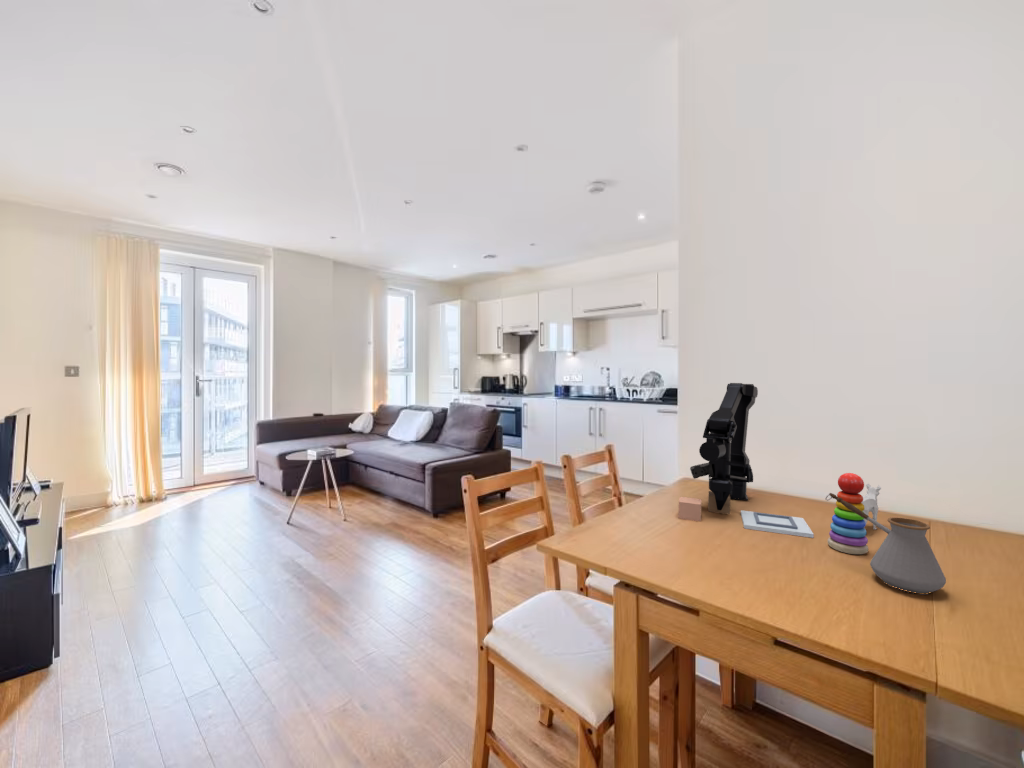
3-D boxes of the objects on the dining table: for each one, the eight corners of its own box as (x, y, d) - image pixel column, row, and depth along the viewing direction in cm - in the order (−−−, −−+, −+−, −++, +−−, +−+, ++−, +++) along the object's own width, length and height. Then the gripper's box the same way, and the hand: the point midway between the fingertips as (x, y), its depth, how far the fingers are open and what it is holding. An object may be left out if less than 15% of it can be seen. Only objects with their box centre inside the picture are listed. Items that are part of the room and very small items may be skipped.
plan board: (740, 513, 134) (740, 508, 133) (802, 521, 127) (803, 515, 127) (744, 528, 121) (744, 522, 121) (813, 537, 114) (813, 531, 114)
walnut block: (708, 506, 141) (708, 490, 141) (729, 509, 138) (729, 493, 138) (708, 511, 135) (708, 495, 135) (730, 514, 133) (730, 498, 133)
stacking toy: (820, 545, 109) (822, 470, 109) (839, 540, 112) (841, 468, 112) (856, 558, 102) (859, 478, 101) (875, 552, 105) (878, 474, 105)
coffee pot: (958, 593, 86) (961, 517, 86) (926, 604, 82) (929, 524, 81) (840, 551, 106) (842, 489, 105) (809, 559, 101) (811, 494, 101)
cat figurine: (884, 526, 124) (886, 476, 123) (855, 541, 113) (857, 486, 112) (864, 521, 127) (866, 473, 127) (835, 535, 116) (837, 482, 116)
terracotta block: (679, 512, 134) (680, 496, 134) (701, 515, 132) (701, 499, 131) (678, 518, 129) (678, 501, 128) (700, 521, 126) (701, 504, 126)
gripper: (693, 449, 148) (691, 495, 149) (691, 459, 131) (690, 511, 132) (729, 452, 144) (728, 499, 144) (732, 463, 127) (731, 516, 127)
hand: (718, 506), depth 137 cm, fingers open, 8 cm apart
